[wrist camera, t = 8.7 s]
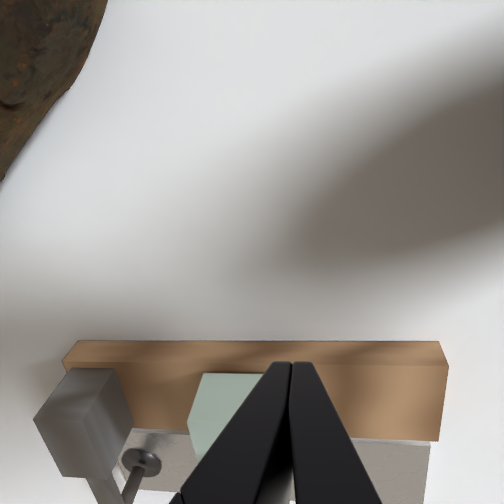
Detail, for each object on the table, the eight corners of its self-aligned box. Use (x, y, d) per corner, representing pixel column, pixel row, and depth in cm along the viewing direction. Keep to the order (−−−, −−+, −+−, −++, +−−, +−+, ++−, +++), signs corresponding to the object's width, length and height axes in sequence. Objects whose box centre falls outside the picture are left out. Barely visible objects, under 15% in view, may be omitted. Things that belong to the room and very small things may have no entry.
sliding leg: (271, 363, 24) (258, 456, 19) (289, 504, 30) (283, 604, 25) (207, 362, 25) (176, 452, 19) (237, 500, 31) (220, 596, 26)
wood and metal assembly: (438, 341, 23) (474, 429, 18) (420, 494, 30) (442, 592, 24) (78, 340, 27) (21, 412, 22) (131, 475, 34) (97, 555, 29)
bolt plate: (427, 435, 27) (431, 448, 26) (419, 498, 30) (422, 512, 29) (110, 422, 31) (104, 432, 30) (133, 479, 34) (128, 490, 33)
